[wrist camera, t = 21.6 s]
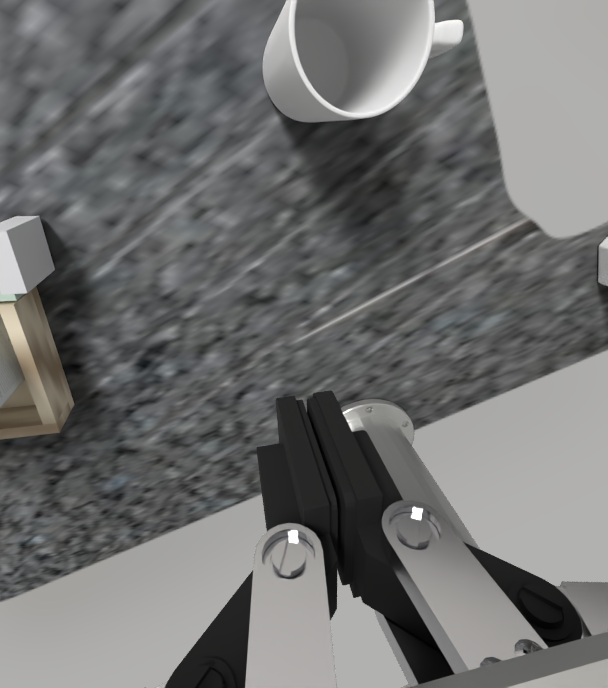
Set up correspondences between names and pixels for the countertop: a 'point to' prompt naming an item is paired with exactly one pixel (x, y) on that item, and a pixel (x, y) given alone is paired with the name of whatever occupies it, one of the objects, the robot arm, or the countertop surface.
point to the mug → (351, 55)
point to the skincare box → (8, 366)
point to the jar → (603, 262)
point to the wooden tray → (34, 372)
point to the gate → (22, 256)
